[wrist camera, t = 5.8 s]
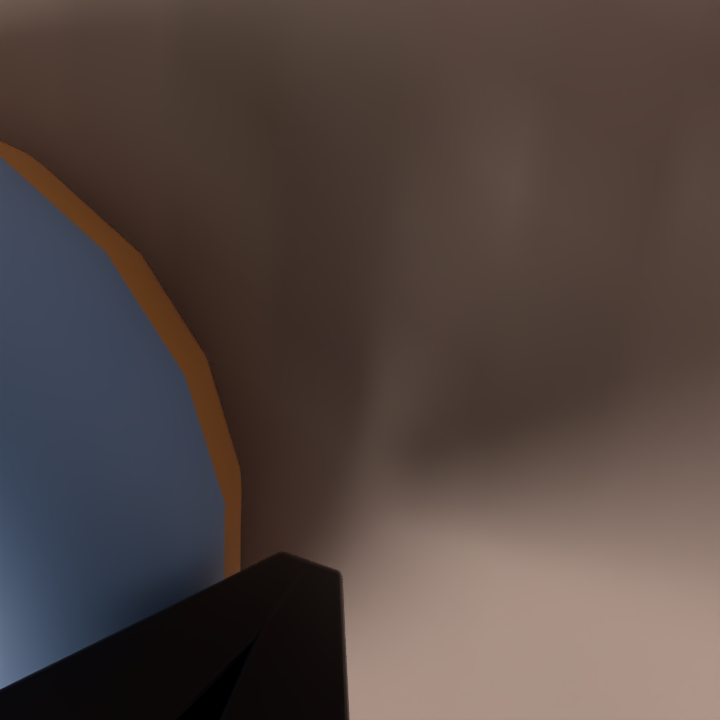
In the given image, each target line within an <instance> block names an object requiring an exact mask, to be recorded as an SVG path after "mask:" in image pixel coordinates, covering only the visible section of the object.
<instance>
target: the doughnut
mask: <svg viewBox="0 0 720 720" xmlns="http://www.w3.org/2000/svg"><path fill="white" fill-rule="evenodd" d="M241 488H242V484H241V474H240V466H239V462H238V459H237V456H236V452H235V449H234V446H233V443H232V439H231V436H230V433H229V429H228V426H227V423H226V419H225V416H224V413H223V409H222V406H221V403H220V399H219V396H218V393H217V389H216V386H215V383H214V379H213V376H212V373H211V370H210V366H209V363H208V360H207V357H206V356H205V354H204V353H203V351H202V349H201V348H200V346H199V345H198V343H197V342H196V340H195V338H194V337H193V335H192V334H191V332H190V331H189V329H188V327H187V326H186V324H185V323H184V321H183V319H182V318H181V316H180V315H179V313H178V312H177V310H176V308H175V307H174V305H173V304H172V302H171V301H170V299H169V297H168V296H167V294H166V293H165V291H164V290H163V288H162V286H161V285H160V283H159V282H158V280H157V278H156V277H155V275H154V274H153V272H152V271H151V269H150V267H149V266H148V264H147V263H146V261H145V260H144V258H143V256H142V255H141V254H140V253H139V252H138V251H137V250H136V249H135V248H134V247H133V246H131V245H130V244H129V243H128V242H127V241H126V240H125V239H124V238H123V237H121V236H120V235H119V234H118V233H117V232H116V231H115V230H114V229H113V228H112V227H110V226H109V225H108V224H107V223H106V222H105V221H104V220H103V219H102V218H101V217H99V216H98V215H97V214H96V213H95V212H94V211H93V210H92V209H91V208H90V207H88V206H87V205H86V204H85V203H84V202H83V201H82V200H81V199H80V198H79V197H77V196H76V195H75V194H74V193H73V192H72V191H71V190H70V189H69V188H68V187H66V186H65V185H64V184H63V183H62V182H61V181H60V180H59V179H58V178H57V177H55V176H54V175H53V174H52V173H51V172H50V171H49V170H47V169H46V168H45V167H44V166H43V165H41V164H40V163H39V162H38V161H36V160H35V159H34V158H33V157H32V156H30V155H29V154H27V153H25V152H23V151H20V150H18V149H16V148H14V147H12V146H10V145H8V144H6V143H3V142H1V141H0V689H2V688H4V687H6V686H8V685H10V684H12V683H14V682H16V681H18V680H20V679H22V678H24V677H26V676H28V675H30V674H32V673H34V672H36V671H38V670H40V669H42V668H44V667H46V666H48V665H50V664H52V663H54V662H57V661H59V660H61V659H63V658H65V657H67V656H69V655H71V654H73V653H75V652H77V651H79V650H81V649H83V648H85V647H87V646H89V645H91V644H93V643H95V642H97V641H99V640H101V639H103V638H105V637H107V636H109V635H111V634H113V633H115V632H118V631H120V630H122V629H124V628H126V627H128V626H130V625H132V624H134V623H136V622H138V621H140V620H142V619H144V618H146V617H148V616H150V615H152V614H154V613H156V612H158V611H160V610H162V609H164V608H166V607H168V606H170V605H172V604H174V603H176V602H178V601H181V600H183V599H185V598H187V597H189V596H191V595H193V594H195V593H197V592H199V591H201V590H203V589H205V588H207V587H209V586H211V585H213V584H215V583H217V582H219V581H221V580H223V579H225V578H227V577H229V576H231V575H233V574H235V573H237V572H239V571H240V554H241Z"/></svg>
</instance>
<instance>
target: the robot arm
mask: <svg viewBox="0 0 720 720" xmlns="http://www.w3.org/2000/svg"><path fill="white" fill-rule="evenodd" d="M0 720H349V699H348V679H347V659H346V639H345V619H344V598H343V579H342V574H341V573H340V572H339V571H338V570H335V569H333V568H330V567H327V566H324V565H321V564H318V563H315V562H312V561H310V560H307V559H304V558H301V557H298V556H296V555H293V554H290V553H287V552H279V553H276V554H274V555H272V556H270V557H268V558H266V559H264V560H262V561H260V562H258V563H256V564H254V565H252V566H250V567H248V568H246V569H244V570H241V571H239V572H237V573H235V574H233V575H231V576H229V577H227V578H225V579H223V580H221V581H219V582H217V583H215V584H213V585H211V586H209V587H207V588H205V589H203V590H201V591H199V592H197V593H195V594H193V595H191V596H189V597H187V598H185V599H183V600H181V601H178V602H176V603H174V604H172V605H170V606H168V607H166V608H164V609H162V610H160V611H158V612H156V613H154V614H152V615H150V616H148V617H146V618H144V619H142V620H140V621H138V622H136V623H134V624H132V625H130V626H128V627H126V628H124V629H122V630H120V631H118V632H115V633H113V634H111V635H109V636H107V637H105V638H103V639H101V640H99V641H97V642H95V643H93V644H91V645H89V646H87V647H85V648H83V649H81V650H79V651H77V652H75V653H73V654H71V655H69V656H67V657H65V658H63V659H61V660H59V661H57V662H54V663H52V664H50V665H48V666H46V667H44V668H42V669H40V670H38V671H36V672H34V673H32V674H30V675H28V676H26V677H24V678H22V679H20V680H18V681H16V682H14V683H12V684H10V685H8V686H6V687H4V688H2V689H0Z"/></svg>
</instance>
